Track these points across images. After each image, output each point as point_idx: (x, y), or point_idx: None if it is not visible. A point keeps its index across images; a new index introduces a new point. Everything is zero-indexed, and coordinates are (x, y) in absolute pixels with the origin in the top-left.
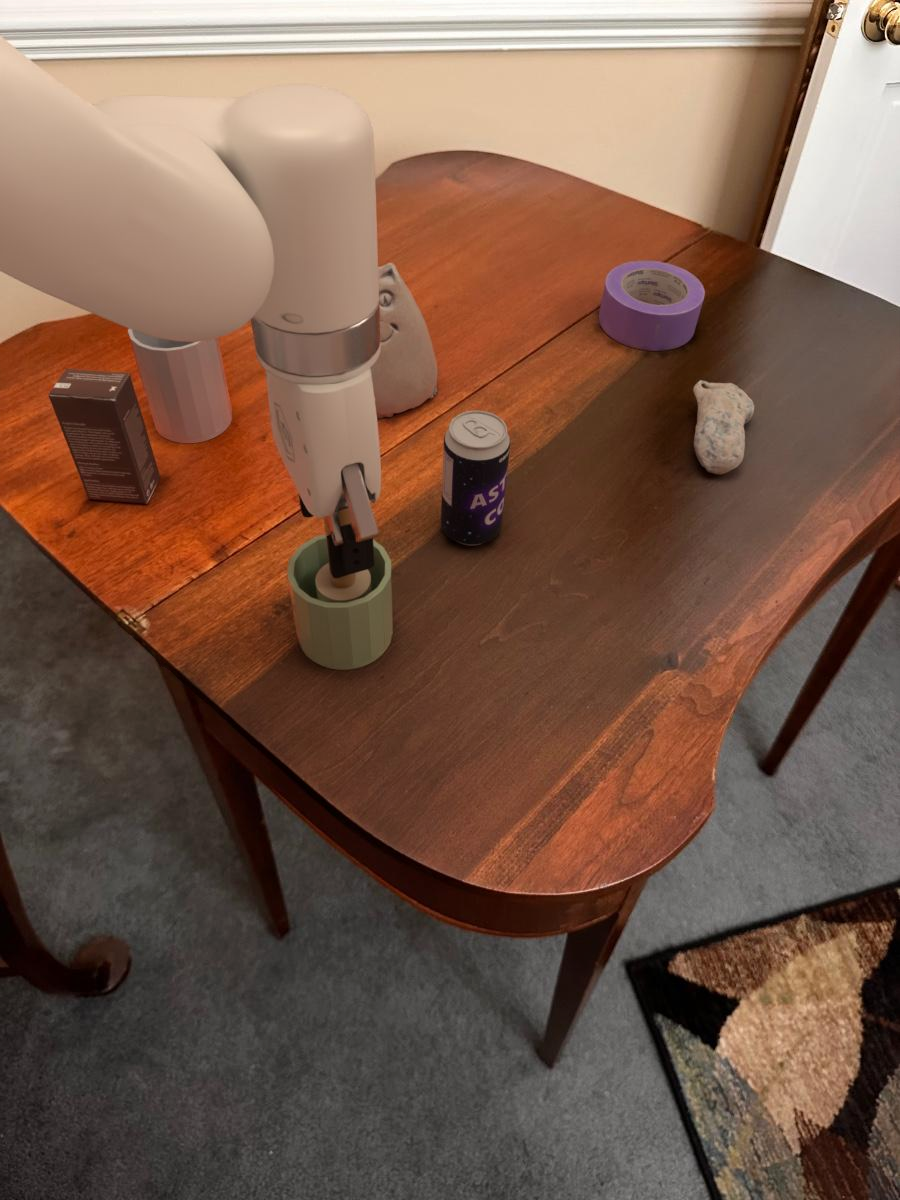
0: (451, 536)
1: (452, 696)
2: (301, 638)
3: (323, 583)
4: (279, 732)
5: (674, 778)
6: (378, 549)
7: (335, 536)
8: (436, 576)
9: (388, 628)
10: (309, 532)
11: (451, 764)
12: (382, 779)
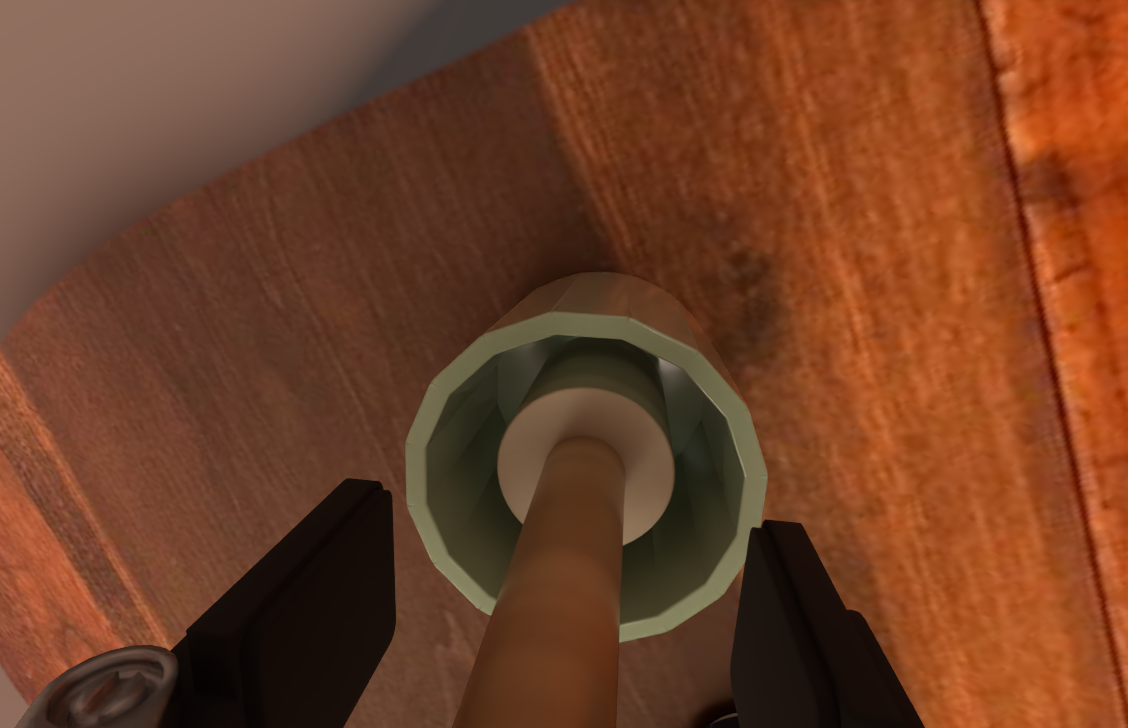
0: (730, 724)
1: None
2: (573, 278)
3: (595, 413)
4: (392, 133)
5: None
6: None
7: (22, 725)
8: None
9: None
10: (970, 441)
11: (207, 429)
12: (213, 296)
